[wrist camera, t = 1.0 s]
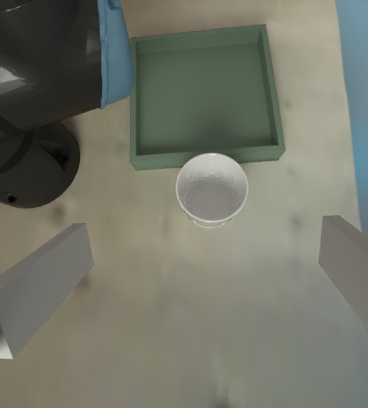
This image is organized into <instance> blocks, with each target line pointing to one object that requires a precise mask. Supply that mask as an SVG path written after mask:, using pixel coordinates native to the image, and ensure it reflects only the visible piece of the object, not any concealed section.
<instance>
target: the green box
mask: <svg viewBox="0 0 368 408" xmlns="http://www.w3.org/2000/svg"><path fill="white" fill-rule="evenodd" d="M131 52H132V57H133V63H134V69H135V87H134V89H133V91H132V93H131V94H130V162H131V163H132V165H133V166H134V168H135V169H136V171H137V170H151V169H165V168H179V167H183V166H184V165H185V164H186V163H187V162H188V161H189V160H190V159H192V158H193V157H195V156H198V155H200V154H204V153H219V154H223V155H226V156H228V157H230V158H232V159H234V160H235V161H236V162H237V163H248V162H262V161H276V160H279V158H280V157H281V156H282V154H283V153H284V152H285V150H286V149H285V143H284V137H283V130H282V124H281V118H280V112H279V105H278V99H277V93H276V87H275V80H274V74H273V68H272V62H271V55H270V49H269V43H268V36H267V30H266V24H263V25H253V26H243V27H233V28H223V29H213V30H203V31H193V32H183V33H173V34H163V35H153V36H143V37H133V38H131Z"/></svg>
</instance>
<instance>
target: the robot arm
mask: <svg viewBox="0 0 368 408" xmlns="http://www.w3.org/2000/svg"><path fill="white" fill-rule="evenodd" d="M134 87H135V69H134V63H133V57H132V52H131V47H130V42H129V37H128V33H127V28H126V24H125V20H124V15H123V12H122V9H121V7H120V0H0V202H1V203H4V204H7V205H10V206H13V207H17V208H35V207H39V206H43V205H45V204H47V203H50V202H51V201H53V200H55V199H56V198H58V197H59V196H60V195H61V194H62V193H63V192H64V191H65V190H66V189H67V188H68V187H69V186H70V184H71V183H72V181H73V179H74V177H75V175H76V173H77V170H78V166H79V160H80V154H79V148H78V144H77V142H76V140H75V138H74V136H73V135H72V133H71V132H70V131H69V130H68V129H67V128H66V127H65V126H64V125H63V124H62V123H60V122H59V121H61V120H64V119H67V118H70V117H73V116H76V115H79V114H81V113H84V112H87V111H90V110H93V109H96V108H99V109H104V108H105V107H106V105H108V104H111V103H114V102H116V101H119V100H121V99H124V98H126V97H128V96H129V95H130V94H131V93H132V91H133V89H134ZM319 264H320V265H321V267H322V268H323V269H324V271H325V272H326V274H327V275H328V276H329V278H330V279H331V280H332V282H333V283H334V284H335V286H336V287H337V288H338V290H339V291H340V293H341V294H342V295H343V297H344V298H345V299H346V301H347V302H348V303H349V305H350V306H351V308H352V309H353V310H354V312H355V313H356V314H357V316H358V317H359V318H360V320H361V321H362V323H363V324H364V325H365V327H366V328H367V329H368V237H367V236H366V235H364V234H363V233H362V232H360V231H359V230H358V229H356V228H355V227H354V226H352V225H351V224H350V223H348V222H347V221H346V220H344V219H343V218H342V217H340V216H339V215H335V216H323V220H322V231H321V242H320V254H319ZM93 265H94V260H93V255H92V250H91V246H90V241H89V236H88V231H87V227H86V223H78V224H73V225H71V226H70V227H68V228H67V229H65V230H64V231H63V232H61V233H60V234H58V235H57V236H56V237H54V238H53V239H51V240H50V241H48V242H47V243H46V244H44V245H43V246H41V247H40V248H39V249H37V250H36V251H34V252H33V253H32V254H30V255H29V256H27V257H26V258H24V259H23V260H22V261H20V262H19V263H17V264H16V265H15V266H13V267H12V268H10V269H9V270H7V271H6V272H4V273H3V274H2V275H0V358H3V359H14V357H15V356H16V355H17V354H18V353H19V352H20V350H21V349H22V348H23V347H24V346H25V345H26V343H27V342H28V341H29V340H30V339H31V338H32V336H33V335H34V334H35V333H36V332H37V331H38V329H39V328H40V327H41V326H42V325H43V324H44V322H45V321H46V320H47V319H48V318H49V317H50V316H51V314H52V313H53V312H54V311H55V310H56V309H57V307H58V306H59V305H60V304H61V303H62V302H63V300H64V299H65V298H66V297H67V296H68V295H69V293H70V292H71V291H72V290H73V289H74V288H75V286H76V285H77V284H78V283H79V282H80V281H81V279H82V278H83V277H84V276H85V275H86V274H87V272H88V271H89V270H90V269H91V268H92V267H93Z"/></svg>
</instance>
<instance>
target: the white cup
mask: <svg viewBox="0 0 368 408" xmlns="http://www.w3.org/2000/svg"><path fill="white" fill-rule="evenodd" d="M175 188H176V196H177V199H178V201H179V203H180V205H181V207H182V209H183V210H184V212H185V214H186V215H187V217H188V218H189V219H190V220H191V221H192V223H193V224H195V225H197V226H198V227H200V228H202V229H216V228H218V227H221V226H223V225H224V224H226V223H227V222H228V221H230V220H231V219H232V218H233V217H234V216H235V215H236V214H237V213H238V212H239V211H240V210H241V208H242V207H243V205H244V204H245V202H246V199H247V196H248V191H249V185H248V179H247V176H246V174H245V172H244V170H243V168H242V167H241V166H240V165H239V164H238V163H237V162H236V161H235V160H234V159H232V158H230V157H228V156H226V155H223V154H219V153H204V154H200V155H198V156H195V157H193V158H192V159H190V160H189V161H188V162H187V163H186V164H185V165H184V166H183V167H182V168H181V170H180V172H179V174H178V176H177V179H176V186H175Z"/></svg>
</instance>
